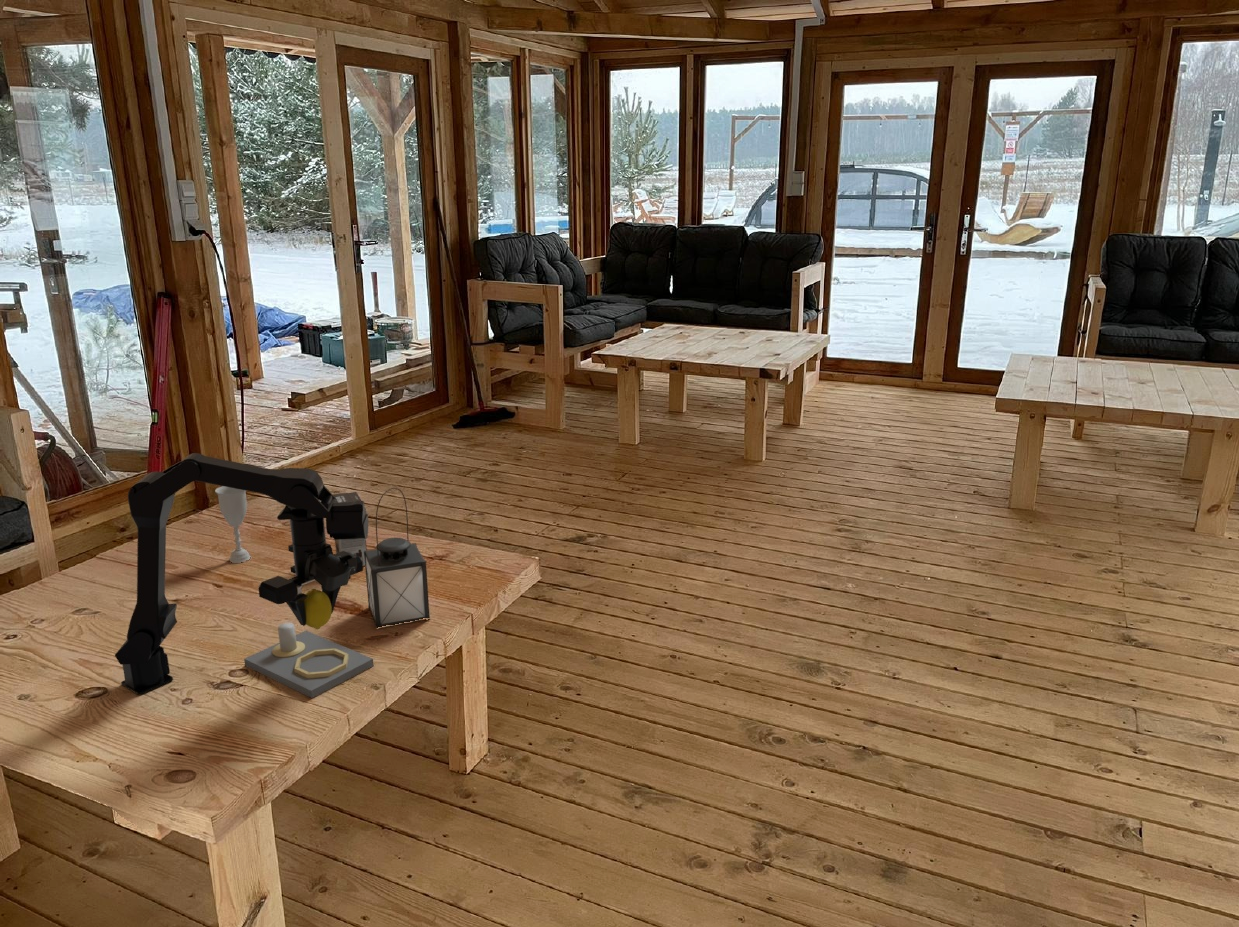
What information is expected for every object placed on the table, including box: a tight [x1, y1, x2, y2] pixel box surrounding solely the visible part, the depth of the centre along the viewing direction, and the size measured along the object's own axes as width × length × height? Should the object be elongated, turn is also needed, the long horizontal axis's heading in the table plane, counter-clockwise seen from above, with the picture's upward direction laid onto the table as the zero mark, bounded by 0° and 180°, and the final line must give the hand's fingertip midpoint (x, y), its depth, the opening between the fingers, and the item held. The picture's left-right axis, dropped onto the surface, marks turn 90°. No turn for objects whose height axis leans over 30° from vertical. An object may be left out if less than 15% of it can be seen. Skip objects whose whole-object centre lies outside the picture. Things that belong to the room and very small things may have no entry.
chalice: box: [215, 486, 252, 564], centre depth 221 cm, size 7×7×18 cm
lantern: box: [364, 487, 431, 629], centre depth 191 cm, size 11×11×28 cm
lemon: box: [304, 588, 332, 630], centre depth 168 cm, size 6×6×8 cm
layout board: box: [243, 622, 375, 699], centre depth 173 cm, size 14×20×6 cm
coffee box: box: [333, 491, 368, 567], centre depth 220 cm, size 9×6×16 cm
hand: (316, 619), depth 169 cm, fingers closed on lemon, 5 cm apart
